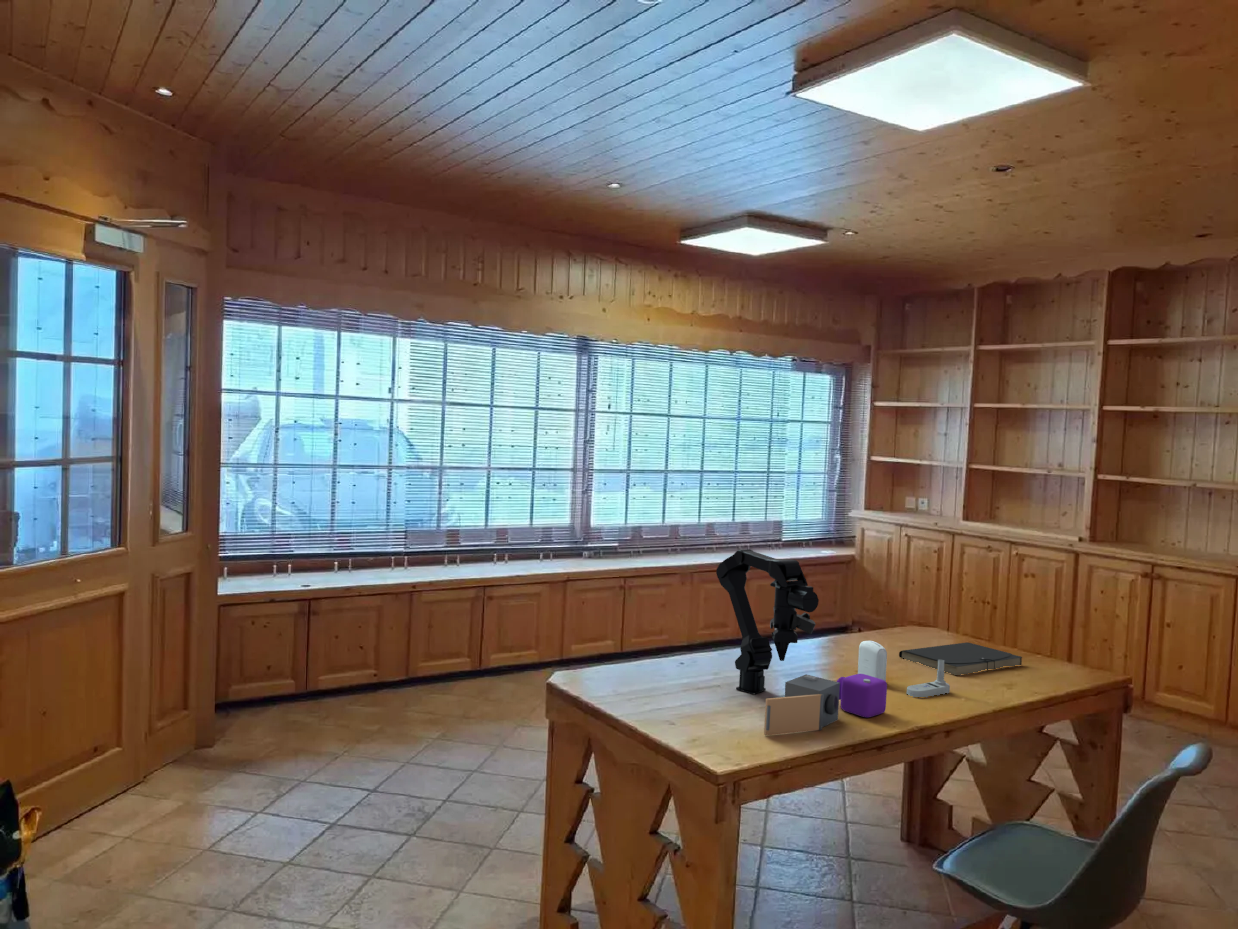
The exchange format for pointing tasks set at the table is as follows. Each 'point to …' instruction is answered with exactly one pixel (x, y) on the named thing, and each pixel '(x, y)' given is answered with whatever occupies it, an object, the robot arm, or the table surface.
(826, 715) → the camera case
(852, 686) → the toy camera
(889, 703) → the table surface
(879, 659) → the photo printer
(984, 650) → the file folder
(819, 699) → the side door
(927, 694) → the electronic device
